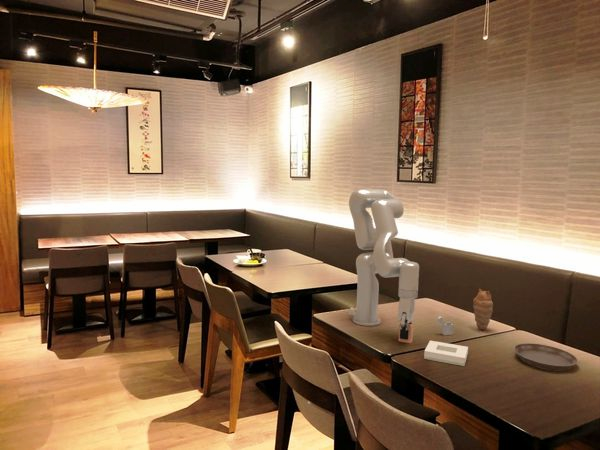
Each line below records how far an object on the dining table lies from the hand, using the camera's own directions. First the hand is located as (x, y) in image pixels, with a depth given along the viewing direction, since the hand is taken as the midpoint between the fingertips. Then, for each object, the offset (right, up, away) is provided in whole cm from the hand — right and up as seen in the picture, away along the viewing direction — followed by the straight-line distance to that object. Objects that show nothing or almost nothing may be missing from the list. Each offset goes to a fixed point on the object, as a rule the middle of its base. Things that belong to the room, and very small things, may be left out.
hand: (405, 336), depth 188 cm
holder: (+12, -4, -15) cm, 19 cm away
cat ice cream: (+37, -1, +16) cm, 40 cm away
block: (0, -2, 0) cm, 2 cm away
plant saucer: (+47, -6, -17) cm, 50 cm away
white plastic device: (+18, -2, +9) cm, 21 cm away
